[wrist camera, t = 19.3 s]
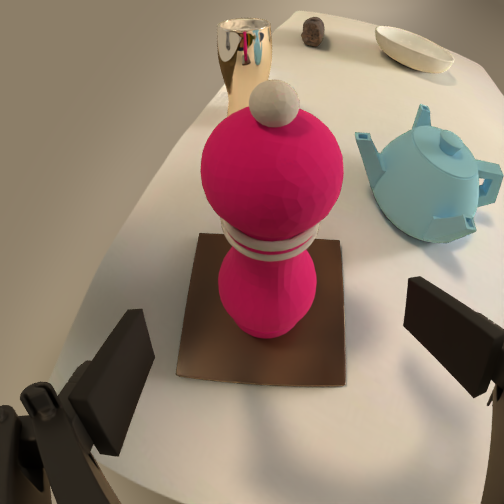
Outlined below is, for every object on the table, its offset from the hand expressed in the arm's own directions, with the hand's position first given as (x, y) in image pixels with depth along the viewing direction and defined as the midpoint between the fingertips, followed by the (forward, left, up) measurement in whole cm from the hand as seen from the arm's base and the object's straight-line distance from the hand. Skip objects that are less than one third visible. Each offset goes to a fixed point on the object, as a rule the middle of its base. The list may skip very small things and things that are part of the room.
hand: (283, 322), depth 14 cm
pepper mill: (-1, +5, -11) cm, 13 cm away
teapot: (+17, +19, -12) cm, 29 cm away
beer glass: (-5, +34, -12) cm, 37 cm away
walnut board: (-1, +5, -12) cm, 13 cm away
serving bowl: (+33, +68, -12) cm, 77 cm away
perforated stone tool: (+8, +72, -12) cm, 74 cm away
